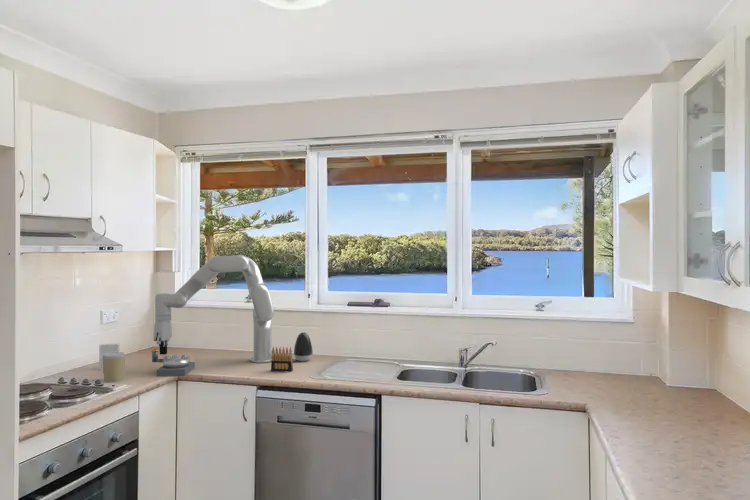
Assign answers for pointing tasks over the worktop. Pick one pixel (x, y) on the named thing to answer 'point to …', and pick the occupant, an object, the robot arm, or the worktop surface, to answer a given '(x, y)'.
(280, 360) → the ammunition clip
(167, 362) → the gold-rimmed tube plate
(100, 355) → the base with upright slab
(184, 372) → the grey rectangular base plate
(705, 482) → the worktop surface
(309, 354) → the black egg shaped speaker
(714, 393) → the worktop surface
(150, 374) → the worktop surface
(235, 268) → the robot arm
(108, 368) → the coffee cup
